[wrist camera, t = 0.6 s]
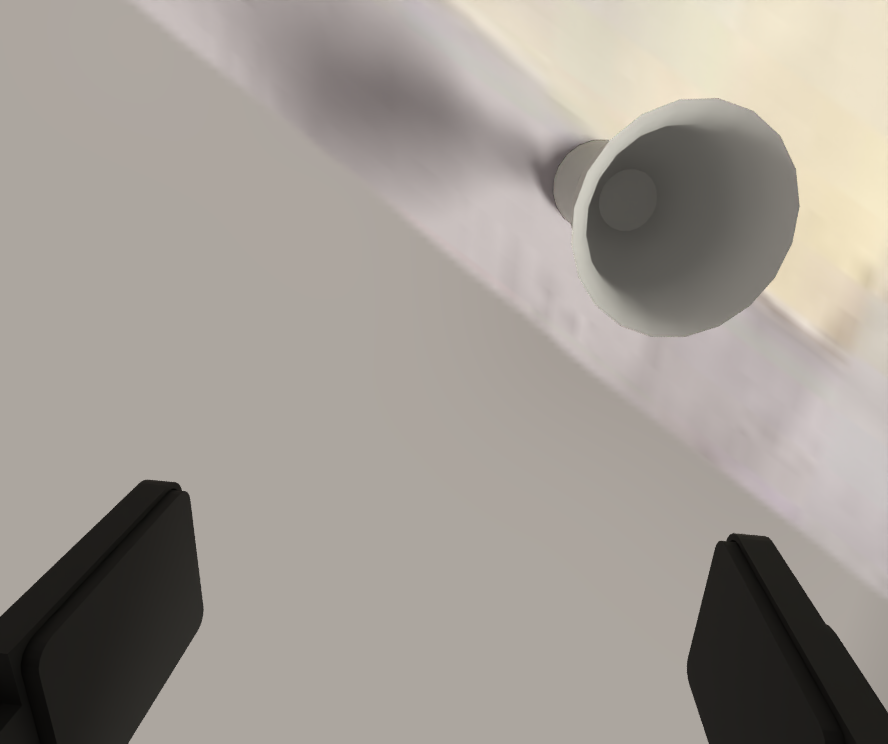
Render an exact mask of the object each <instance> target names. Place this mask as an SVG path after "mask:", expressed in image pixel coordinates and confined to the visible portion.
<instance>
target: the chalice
mask: <svg viewBox="0 0 888 744" xmlns="http://www.w3.org/2000/svg"><path fill="white" fill-rule="evenodd" d="M553 195H554V198H555V202H556V206H557V208H558V210H559V211H560V213H561V214H562V216H563V217H564V219H566V220H567V221H568V222H570V223H571V226H572V242H571V245H572V249H573V254H574V258H575V263H576V268H577V272H578V277H579V279H580V281H581V282H582V284H583V286H584V287H585V289H586V291H587V292H588V294H589V296H590V297H591V299H592V301H593V302H594V304H595V306H597V307H598V308H599V309H600V310H601V311H603V312H604V313H605V314H606V315H608V316H609V317H610V318H611V319H612V320H614V321H615V322H616V323H617V324H619V325H620V326H622V327H625V328H628V329H630V330H633V331H636V332H639V333H642V334H645V335H648V336H650V337H686V336H689V335H692V334H696V333H699V332H702V331H705V330H708V329H711V328H715V327H718V326H720V325H722V324H723V323H725V322H726V321H728V320H729V319H731V318H732V317H734V316H735V315H737V314H738V313H740V312H741V311H743V310H744V309H746V308H747V307H749V306H750V305H751V304H752V303H753V302H754V300H755V299H756V298H757V297H758V296H759V295H760V294H761V293H762V291H763V290H764V289H765V288H766V287H767V286H768V285H769V283H770V282H771V281H772V280H773V279H774V278H775V276H776V274H777V272H778V270H779V268H780V266H781V264H782V262H783V260H784V258H785V256H786V254H787V252H788V250H789V248H790V246H791V244H792V241H793V236H794V231H795V226H796V221H797V216H798V211H799V196H798V186H797V176H796V168H795V166H794V164H793V162H792V160H791V158H790V156H789V154H788V151H787V149H786V147H785V145H784V143H783V141H782V139H781V136H780V135H779V134H778V133H777V132H776V131H774V130H773V129H772V128H771V127H770V126H769V125H768V124H767V123H766V122H765V121H764V120H763V119H762V118H760V117H759V116H758V115H757V114H756V113H755V112H754V111H752V110H749V109H747V108H744V107H741V106H738V105H736V104H733V103H730V102H727V101H725V100H722V99H719V98H711V99H680V100H677V101H674V102H672V103H669V104H667V105H664V106H662V107H659V108H657V109H654V110H651V111H649V112H646V113H644V114H642V115H640V116H639V117H638V118H637V119H635V120H634V121H633V122H632V123H630V124H629V125H628V126H627V127H625V128H624V129H623V130H622V131H620V132H619V133H618V134H617V135H615V136H614V137H613V138H612V139H610V141H609V140H593V141H590V142H587V143H584V144H581V145H579V146H578V147H576V148H575V149H574V150H572V151H571V152H570V153H568V154H567V156H566V157H565V158H564V160H563V161H562V162H561V164H560V165H559V167H558V170H557V173H556V175H555V178H554V189H553Z"/></svg>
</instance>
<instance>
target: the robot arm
mask: <svg viewBox="0 0 888 744" xmlns="http://www.w3.org/2000/svg"><path fill="white" fill-rule="evenodd" d="M202 617H203V600H202V592H201V584H200V576H199V568H198V560H197V552H196V543H195V536H194V527H193V519H192V510H191V502H190V497H189V494H188V493H187V492H186V491H182V490H181V487H180V485H179V484H178V483H176V482H167V481H166V482H165V481H156V480H144V481H142V482H140V483H139V484H138V485H137V486H136V487H135V488H134V489H133V490H132V491H131V492H130V493H129V494H128V495H127V496H126V497H125V498H124V499H123V500H121V501H120V502H119V503H118V504H117V505H116V506H115V507H114V508H113V509H112V510H111V511H110V512H109V513H108V514H107V515H106V516H105V517H104V518H103V519H102V520H101V521H100V522H98V524H96V525H95V526H94V527H93V528H92V529H91V530H90V531H89V532H88V533H87V534H86V535H85V536H84V537H83V538H82V539H81V540H80V541H79V542H78V543H77V544H76V545H75V546H73V547H72V548H71V549H70V550H69V551H68V552H67V553H66V554H65V555H64V556H63V557H62V558H61V559H60V560H59V561H58V562H57V563H56V564H55V565H54V566H53V567H52V568H51V569H50V570H49V571H47V572H46V573H45V574H44V575H43V576H42V577H41V578H40V579H39V580H38V581H37V582H36V583H35V584H34V585H33V586H32V587H31V588H30V589H29V590H28V591H27V592H26V593H24V595H22V596H21V597H20V598H19V599H18V600H17V601H16V602H15V603H14V604H13V605H12V606H11V607H10V608H9V609H8V610H7V611H6V612H5V613H4V614H3V615H2V616H1V617H0V744H128V743H129V741H130V739H131V738H132V736H133V735H134V733H135V731H136V730H137V728H138V726H139V725H140V723H141V721H142V720H143V718H144V717H145V715H146V713H147V712H148V710H149V709H150V707H151V705H152V704H153V702H154V701H155V699H156V697H157V696H158V694H159V692H160V691H161V689H162V688H163V686H164V684H165V683H166V681H167V679H168V678H169V676H170V675H171V673H172V671H173V670H174V668H175V667H176V665H177V663H178V662H179V660H180V658H181V657H182V655H183V654H184V652H185V650H186V649H187V647H188V646H189V644H190V642H191V641H192V639H193V637H194V635H195V634H196V633H197V631H198V629H199V627H200V624H201V622H202ZM687 675H688V681H689V684H690V688H691V690H692V694H693V696H694V700H695V703H696V705H697V708H698V712H699V715H700V718H701V721H702V724H703V727H704V730H705V733H706V736H707V739H708V742H709V744H888V712H887V711H886V709H885V708H884V706H883V705H882V703H881V702H880V700H879V698H878V697H877V695H876V694H875V692H874V691H873V690H872V688H871V686H870V685H869V683H868V682H867V680H866V679H865V677H864V676H863V674H862V673H861V671H860V670H859V668H858V666H857V665H856V663H855V662H854V660H853V659H852V657H851V656H850V654H849V653H848V651H847V650H846V648H845V647H844V645H843V644H842V642H841V641H840V639H839V638H838V636H837V634H836V633H835V632H834V631H833V630H832V629H831V628H830V626H828V625H826V624H825V622H824V621H823V619H822V618H821V616H820V615H819V613H818V611H817V610H816V608H815V607H814V605H813V604H812V602H811V601H810V599H809V598H808V596H807V595H806V593H805V591H804V590H803V588H802V587H801V585H800V584H799V582H798V580H797V579H796V577H795V576H794V574H793V573H792V571H791V570H790V568H789V567H788V566H787V564H786V562H785V560H784V559H783V557H782V556H781V554H780V553H779V551H778V550H777V548H776V547H775V545H774V544H773V542H772V541H771V540H770V539H769V537H766V536H757V535H746V534H734V533H733V534H730V535H729V537H728V538H727V541H719V542H718V543H717V545H716V547H715V551H714V555H713V559H712V563H711V567H710V571H709V575H708V579H707V583H706V588H705V591H704V595H703V599H702V604H701V608H700V612H699V616H698V620H697V624H696V628H695V632H694V636H693V640H692V644H691V648H690V652H689V656H688V661H687Z"/></svg>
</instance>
